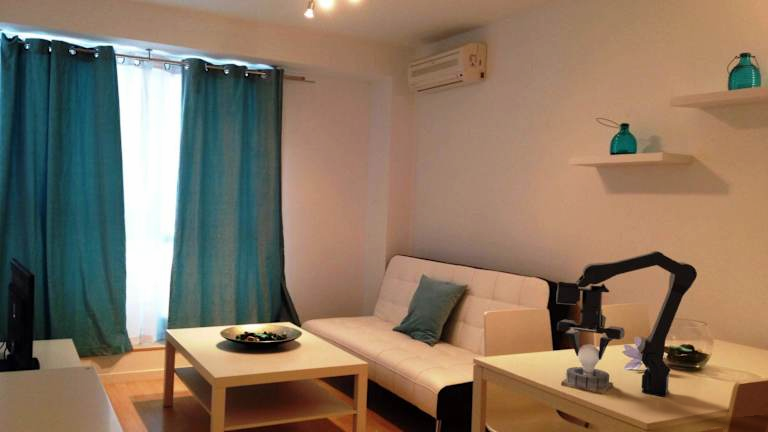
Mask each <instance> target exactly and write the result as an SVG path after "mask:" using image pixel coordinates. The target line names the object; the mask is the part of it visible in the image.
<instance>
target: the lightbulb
mask: <svg viewBox="0 0 768 432" xmlns="http://www.w3.org/2000/svg"><path fill="white" fill-rule="evenodd" d="M577 358H578V361H579V362H580V363H581V367H583V370H584V373H583V374H584V375H586V376H593V375H592V374H593V371H594V369H596V368H595V367H596V366H597V365H598V363H599V361H600V360H599V349H598V348H597V347H596V346H595V345H593V344H590V343H589V344H588V343H587V344H583V345H582V346H581V347H579V351H578V356H577Z"/></svg>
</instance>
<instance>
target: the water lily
mask: <svg viewBox="0 0 768 432" xmlns="http://www.w3.org/2000/svg"><path fill="white" fill-rule="evenodd" d="M640 343H641V338H640V337H639V336H634V344H635V346H632V345H631V344H624V345H623V348H624V350H622V352H621V353H622V354H623V355H624V356H626V357H628V358H630V359H631V360H630V361H629V362H627V363H626V364H625V366H624V368H623V370H636V369H638V368H640V367H641V366H642V365H644V364H643V362H642V361H641V359H640V358H639V355H638V352H639V350H638V349H637V348H638V347H639V345H640ZM663 359H665V356H663ZM644 368H645V369H647V368H646V366H645V365H644Z"/></svg>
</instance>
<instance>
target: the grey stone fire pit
mask: <svg viewBox="0 0 768 432" xmlns="http://www.w3.org/2000/svg"><path fill="white" fill-rule="evenodd" d="M583 373H584V370H583V367H582V366H579V367H578V366H574V367H573V366H572V367H569V368H567V369H566V376H565V379H563V380H562V381H561V382H560V385H561V386H563V387H568V388H572V389H574V388H575V389H579V390H583V391H584V390H585V391H589V392H593V393H599V394H604V393H606V392H607V391H608V390H610V389H611V388H612V387H613V386H614V383H613V382H612V381H610V374H609V372H607V371H604V370H601V369H598V368H594V371H593V374H592V375H593V376H586V375H584V374H583Z"/></svg>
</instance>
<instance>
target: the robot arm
mask: <svg viewBox="0 0 768 432" xmlns="http://www.w3.org/2000/svg"><path fill="white" fill-rule="evenodd" d="M656 266H658V267H660V268H661V269H662V270H664V271H666V272H668V273H669V279H668V290H667V292H666V294H665V295H666V296H665V298H664V300H663V302H662V305H661V308H660V310H659V313H658V315H657V318H656V320H655V323H654V326H653V327H652V329H651V332H650V334H649V335H648V336H647V338H646V337H644V336H642V337H641V338H640V340H641V343H640V345H639V347H638V348H636V349H638V350H639V352H638V355H639V358H640V359H641V361H642V362H643V364H642V365H644V367H645V366H646V368H645V370H643V371H644V373H643V374H642V375H641V393H645V394H650V395H655V396H660V397H666V396H667V395H668V394H669V393H670V389H669V379H670V377H669V376H670V372H671V368H670V367H669V366H668V365H667V363H666V362H665V361H664V358H663V356H664V354H665V349H666V348H665V347H666V339H667V337H668V335H669V332H670V330H671V327H672V324H673V321H674V319H675V317H676V315H677V313H678V309H679V307H680V306H681V305H680V304H681V301H682V299H683V297H684V296H685V294H686V293H687V292H688V291H689V289H690V288H691V287H692V285H693V284H694V282H695V281H696V278H697V277H698V276H697V275H698V273H697V272H698V271H697V270H696V268H695V267H694V266H693V265H691V264H690V263H687V262H684V261H683V262H678V261H676V260H674V259H672V258H670V257H668V256H666V255H665V254H664V253H662V252H661V251H658V250H653V251H651V252H649V253H645V254H640V255H636V256H634V257H633V256H632V257H628V258H624V259H621V260H617V261H616V260H615V261H612V262H611V261H610V262H595V263H589V264H586V265H585V266H584V267H583V269H582V274H581V276H580V277H579V278H578V279H577V280H576V281H575V282H569V281H568V282H567V281H563V280H558V281H557V290H556V297H555V298H556V304H557V305H558V304H559V305H560V304H561V305H573V306H574V305H575V306H576V305H577V303H578V302H580V301H581V309H580V311H579V312H580V322H579V323H576V320H570V319H565V318H564V319H562V320H559V321H558V322H557V324H556V330H557V332H558V331H559V332H564V334H565V335H566V336H568V339H570V342H571V345H572V347H573V349H574V352H575V355H576V356H577V357H578V351H579V349H580V335H581V332H586V333H593V334H600V335H602V337H600V338H599V347H598V348H599V349H598V350H599V361H601V360H602V359H603V356H604V354H605V351H606V349H607V347H608V344H609V343H610V342H612V341H614V340H622V339H623V338H625V329H624V327H621V326H616V325H615V326H614V325H611V326H608V327H606V322H607V317H606V316H605V315H603V309H602V302H603V293H609V292H610V290H609V288H607V287H606V285H605V283H603V282H605V281H607V280H609V279H612V278H613V277H615V276H618V275H621V274H626V273H629V272H633V271H638V270H642V269H647V268H651V267H656ZM598 284H600V285H598ZM588 286H589V287H588ZM581 291H582V292H581ZM664 357H665V356H664Z"/></svg>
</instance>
